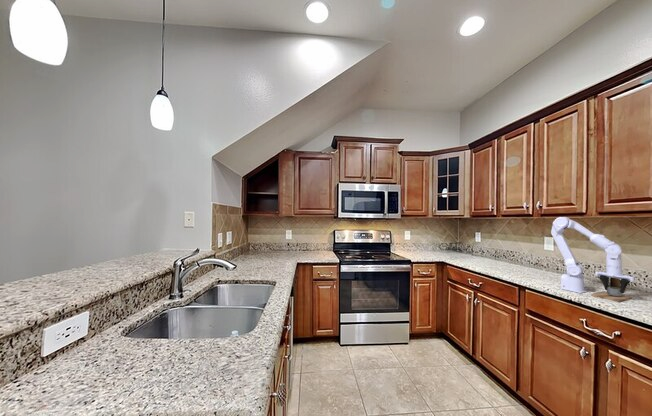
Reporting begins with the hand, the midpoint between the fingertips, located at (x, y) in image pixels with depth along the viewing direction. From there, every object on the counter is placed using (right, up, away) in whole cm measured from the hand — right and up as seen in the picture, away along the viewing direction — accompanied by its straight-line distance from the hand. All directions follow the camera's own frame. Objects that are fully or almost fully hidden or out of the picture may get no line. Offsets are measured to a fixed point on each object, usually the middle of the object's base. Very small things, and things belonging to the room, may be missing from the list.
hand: (614, 291), depth 141 cm
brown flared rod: (+14, -4, +12) cm, 19 cm away
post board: (-1, -3, 0) cm, 4 cm away
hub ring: (0, -2, 0) cm, 2 cm away
